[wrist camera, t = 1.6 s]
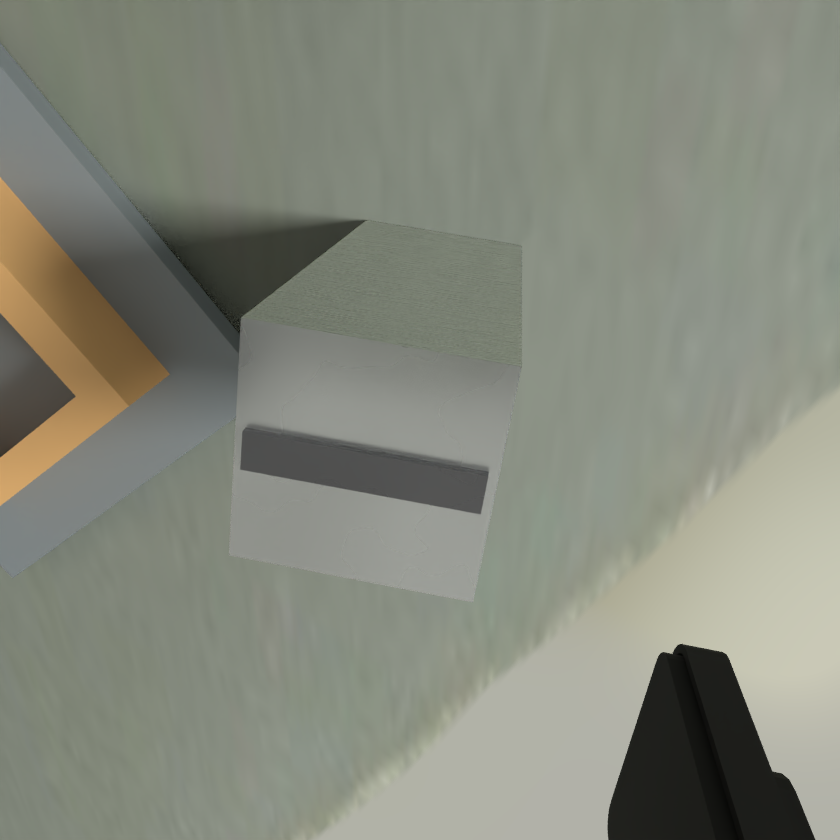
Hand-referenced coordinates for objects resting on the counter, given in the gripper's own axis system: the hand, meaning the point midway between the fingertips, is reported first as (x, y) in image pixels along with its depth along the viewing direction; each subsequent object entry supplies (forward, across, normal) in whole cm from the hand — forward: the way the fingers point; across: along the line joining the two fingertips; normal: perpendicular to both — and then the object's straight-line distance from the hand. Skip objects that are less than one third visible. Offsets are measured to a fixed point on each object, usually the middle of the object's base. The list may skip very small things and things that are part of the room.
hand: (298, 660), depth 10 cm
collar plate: (+17, +15, +3) cm, 23 cm away
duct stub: (+17, 0, -1) cm, 17 cm away
